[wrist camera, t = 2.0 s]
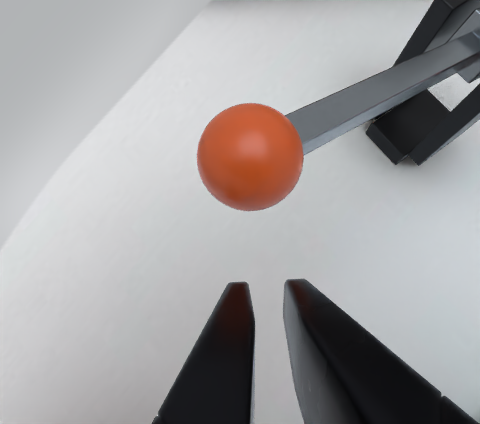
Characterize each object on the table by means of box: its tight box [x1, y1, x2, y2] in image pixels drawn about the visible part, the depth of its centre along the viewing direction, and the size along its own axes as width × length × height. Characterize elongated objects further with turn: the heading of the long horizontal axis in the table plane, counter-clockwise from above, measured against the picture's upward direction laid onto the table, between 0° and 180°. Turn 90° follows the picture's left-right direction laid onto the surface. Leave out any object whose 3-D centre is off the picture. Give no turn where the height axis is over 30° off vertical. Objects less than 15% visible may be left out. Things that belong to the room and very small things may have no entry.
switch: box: [197, 8, 480, 211], centre depth 14 cm, size 18×3×3 cm, turn 126°
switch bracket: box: [366, 0, 480, 166], centre depth 20 cm, size 5×6×10 cm
